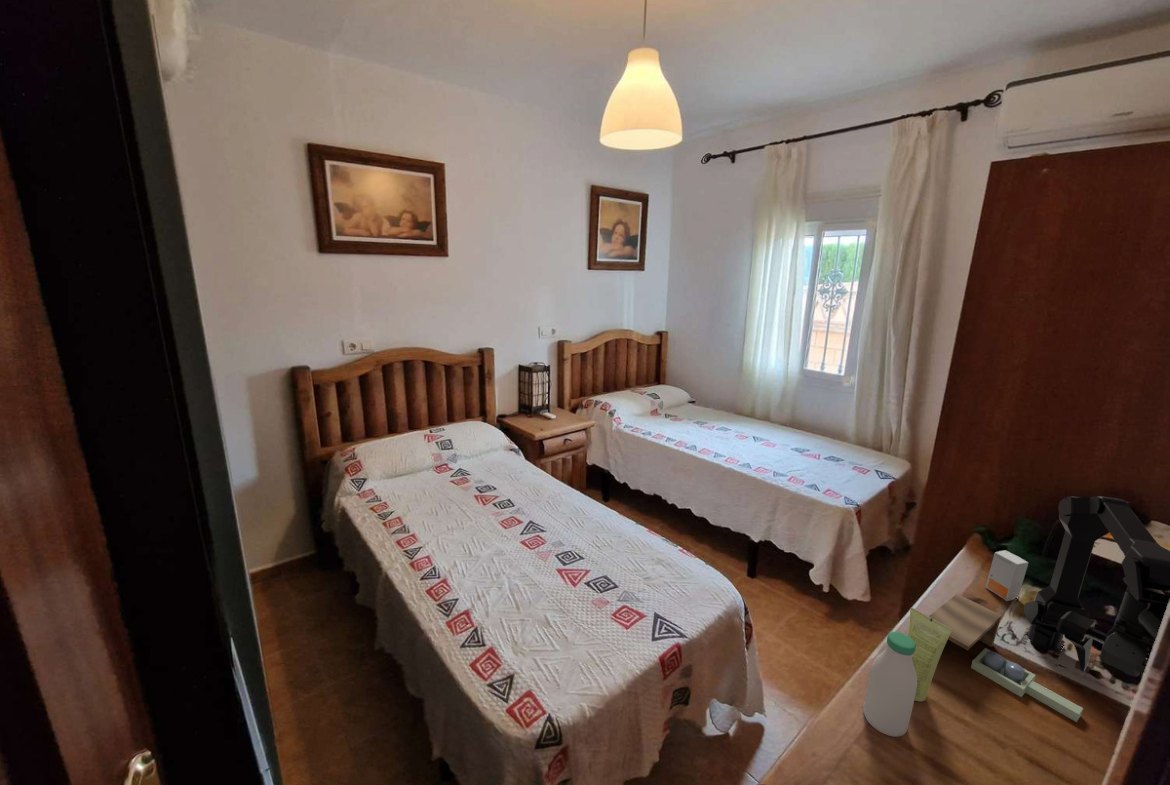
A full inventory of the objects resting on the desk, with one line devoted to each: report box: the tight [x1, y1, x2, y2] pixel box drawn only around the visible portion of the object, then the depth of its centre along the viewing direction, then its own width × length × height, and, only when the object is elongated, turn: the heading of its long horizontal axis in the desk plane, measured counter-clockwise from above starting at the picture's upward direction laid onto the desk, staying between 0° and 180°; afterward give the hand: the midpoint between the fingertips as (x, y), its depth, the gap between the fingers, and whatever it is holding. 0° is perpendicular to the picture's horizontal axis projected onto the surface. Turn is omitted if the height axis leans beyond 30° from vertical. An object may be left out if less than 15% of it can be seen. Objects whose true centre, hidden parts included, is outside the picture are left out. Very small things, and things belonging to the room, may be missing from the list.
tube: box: [907, 607, 953, 702], centre depth 100 cm, size 6×5×20 cm
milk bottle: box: [862, 631, 917, 738], centre depth 94 cm, size 8×8×20 cm
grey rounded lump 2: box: [1003, 661, 1026, 685], centre depth 104 cm, size 3×3×4 cm
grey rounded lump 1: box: [983, 650, 1004, 673], centre depth 107 cm, size 3×3×4 cm
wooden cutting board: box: [928, 593, 1002, 651], centre depth 112 cm, size 18×9×10 cm, turn 122°
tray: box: [970, 647, 1084, 723], centre depth 102 cm, size 7×17×3 cm, turn 32°
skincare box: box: [985, 549, 1029, 602], centre depth 132 cm, size 6×4×12 cm
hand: (1116, 688), depth 89 cm, fingers open, 9 cm apart
